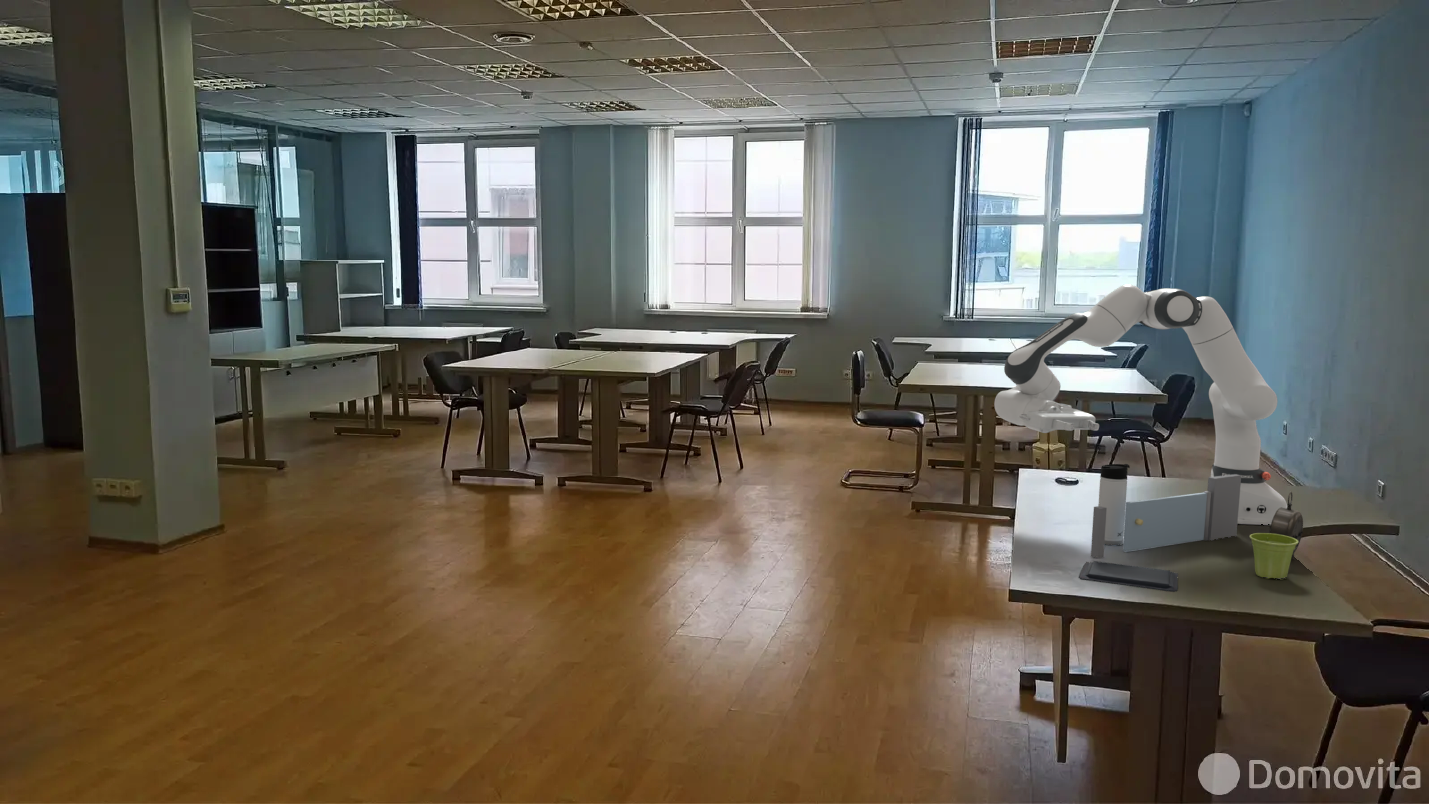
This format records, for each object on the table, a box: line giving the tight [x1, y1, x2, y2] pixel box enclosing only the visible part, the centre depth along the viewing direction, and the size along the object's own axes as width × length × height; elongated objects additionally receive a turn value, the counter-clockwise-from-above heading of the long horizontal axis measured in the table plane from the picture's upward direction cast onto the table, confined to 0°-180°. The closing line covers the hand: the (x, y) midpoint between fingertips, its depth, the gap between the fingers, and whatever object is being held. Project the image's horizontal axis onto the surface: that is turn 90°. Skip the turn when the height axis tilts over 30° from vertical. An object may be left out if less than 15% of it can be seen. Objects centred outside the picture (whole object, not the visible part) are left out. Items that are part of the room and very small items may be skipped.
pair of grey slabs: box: [1090, 474, 1241, 559], centre depth 242 cm, size 49×2×16 cm, turn 116°
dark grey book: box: [1078, 560, 1179, 593], centre depth 217 cm, size 20×2×15 cm
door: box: [1122, 490, 1211, 553], centre depth 241 cm, size 29×2×12 cm, turn 116°
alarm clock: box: [1268, 491, 1304, 561], centre depth 232 cm, size 11×5×16 cm, turn 134°
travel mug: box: [1097, 463, 1131, 546], centre depth 244 cm, size 6×7×20 cm
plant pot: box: [1249, 532, 1298, 579], centre depth 218 cm, size 9×9×9 cm
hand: (1084, 427), depth 251 cm, fingers open, 8 cm apart
